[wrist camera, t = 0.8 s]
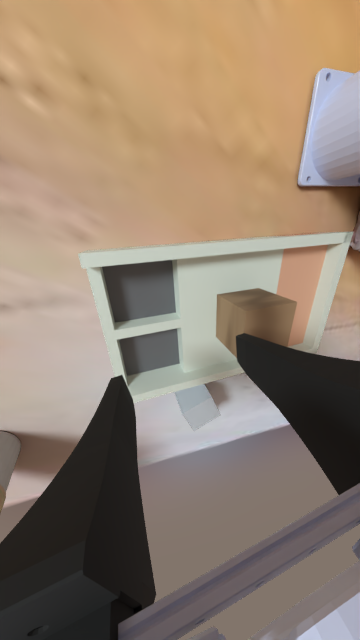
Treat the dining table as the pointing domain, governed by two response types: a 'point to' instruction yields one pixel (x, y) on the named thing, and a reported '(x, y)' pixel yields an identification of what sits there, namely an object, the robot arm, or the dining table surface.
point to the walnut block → (253, 317)
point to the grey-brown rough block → (356, 236)
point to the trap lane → (204, 302)
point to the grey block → (197, 406)
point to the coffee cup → (7, 461)
